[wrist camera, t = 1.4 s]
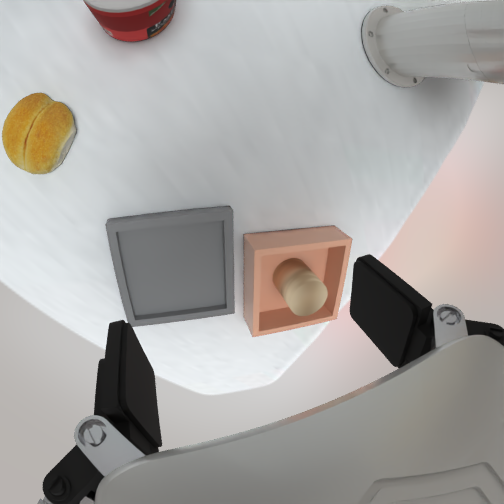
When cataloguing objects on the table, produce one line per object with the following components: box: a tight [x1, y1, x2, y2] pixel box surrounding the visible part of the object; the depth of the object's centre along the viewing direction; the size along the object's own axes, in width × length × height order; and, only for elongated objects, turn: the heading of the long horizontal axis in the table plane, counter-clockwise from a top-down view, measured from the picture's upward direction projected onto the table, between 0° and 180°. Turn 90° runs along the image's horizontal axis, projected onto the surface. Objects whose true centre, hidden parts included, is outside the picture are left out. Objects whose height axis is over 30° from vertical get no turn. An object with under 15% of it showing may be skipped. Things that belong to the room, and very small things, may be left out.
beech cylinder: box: [273, 258, 328, 316], centre depth 37 cm, size 5×5×6 cm
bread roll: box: [2, 93, 76, 174], centre depth 22 cm, size 8×9×4 cm
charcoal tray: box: [106, 206, 235, 327], centre depth 34 cm, size 14×14×2 cm
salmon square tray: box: [244, 226, 352, 337], centre depth 38 cm, size 13×13×4 cm
